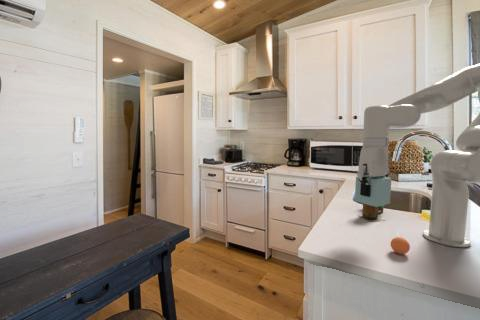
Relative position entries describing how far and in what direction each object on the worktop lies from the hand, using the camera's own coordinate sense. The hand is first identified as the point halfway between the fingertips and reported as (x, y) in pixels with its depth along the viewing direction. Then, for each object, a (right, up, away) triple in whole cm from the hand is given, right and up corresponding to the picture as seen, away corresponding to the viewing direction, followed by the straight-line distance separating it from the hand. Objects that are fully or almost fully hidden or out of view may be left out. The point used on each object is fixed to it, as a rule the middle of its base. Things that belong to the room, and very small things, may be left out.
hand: (372, 193), depth 80 cm
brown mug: (+13, -15, +24) cm, 31 cm away
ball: (+4, -15, -7) cm, 17 cm away
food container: (+22, -13, +33) cm, 42 cm away
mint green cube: (0, -3, 0) cm, 3 cm away
